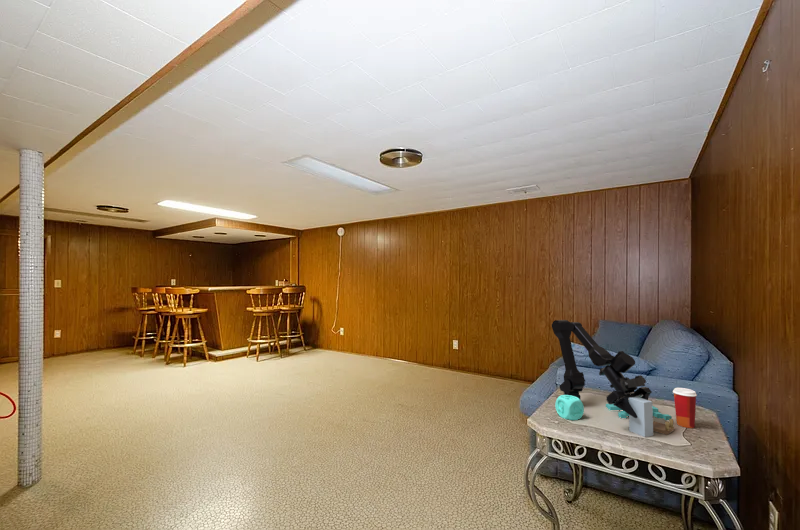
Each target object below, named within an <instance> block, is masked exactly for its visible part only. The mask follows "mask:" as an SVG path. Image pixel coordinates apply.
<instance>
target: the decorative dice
mask: <svg viewBox="0 0 800 530" xmlns="http://www.w3.org/2000/svg"><path fill="white" fill-rule="evenodd" d="M554 405H555V406H554V407H555V410H556V412H557V414H558V416H559V417H560V418H562V419H564V418H565V420H568V419H569V420H568V421H578V419H579V420H580V419H581V418H582V417H583V415H584V412H585V407H584V403H583V401H582V400H580V399H579V398H578V397H575V396H571V395H564V394H561V395H559V396H558V397H557V398H556V400H555V403H554Z"/></svg>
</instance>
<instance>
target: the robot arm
mask: <svg viewBox="0 0 800 530" xmlns="http://www.w3.org/2000/svg"><path fill="white" fill-rule="evenodd" d="M551 329H552V332H553V333H554V335H555V336H556V338H557V339H558V342H559V347H560V351H561V355H562V359H563V363H564V368H565V371H564V374H563V382H562V383H561V384H560V385H559V390H560V392H563V395H571V396H575V397H578V398H579V399H580V400H581V395H580V392H583V390H584V387H585V385H586V383H585V382H586V379H585V374H584V372H582V371H581V372H580V370H579V369H578V367H577V364H576V358H575V355H574V354H575V353H574V350H573V346H572V345H573V344H572V341H571V336H572V333H573V334H574V336H575V337H576V338H577V340H578V341H579V342H580V343H581V345H583V347H584V348H585V349H586V350H587V352H588V357H589V359H590V361H591V363H592V364H593V365H594V366H595V367H596V366H597V367H603V368H599V371H598V374H599V376H605V377H606V379H607V380H608V382H609V383H610V385H609V387H610V388H611V389H613V388H614V390H613V391H611V393H609V394H608V395H607V396H606V399H605V400H606V403H607V404H609V405H610V404H613V405H614V406H617V407H618V408H620V409H622V410H623V411H625V412H626V413H628V414H629V415H631V416H632V417H634V418H637V415H636V413H635V411H634V410H633V408H632V407H631V405H630V404H629V398H631V397H640V398H643V399H646V400H649V398H650V396H651V394H652V393H653V391H652V390H651V389H650V387H648V386H646V383H647V380H646V379H645V377H643V375H642V374H641V375H636V376H635V377H634V378H629V377H626V376H625V375H623V374H626V373H627V372H629V370H630V369H631V368H633V367H634V366H635V365H636V360H635V359H634V357H632V356H631V355H629V354H628V353H625V351H624V350H620V351H618V352H617V353H616V354H615V356H614V355H612V353H610V352H609V351H608V350H607V349H605V348H604V347H602V346H600V345H599V344H598V343H597V342H596V341H595V340H594V338H593V337H592V336H591V335H590V334H589V333H588V331H587V330H586V329H585V328H584V327H583V324H582V323H581V322H578V321H569V320H567V319H558V320H557V319H556V320H555V319H554V320H553V321H552V323H551ZM638 387H639V388H638ZM581 401H582V400H581Z"/></svg>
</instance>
